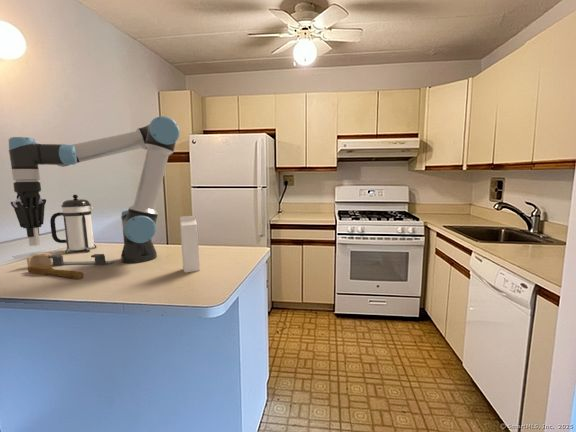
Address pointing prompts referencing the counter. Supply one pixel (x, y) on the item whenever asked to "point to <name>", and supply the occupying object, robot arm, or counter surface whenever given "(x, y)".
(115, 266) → the counter surface
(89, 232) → the coffee press
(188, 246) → the milk
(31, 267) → the tap handle
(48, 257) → the board
